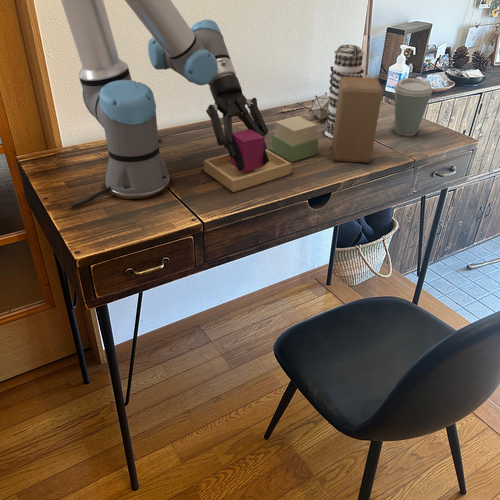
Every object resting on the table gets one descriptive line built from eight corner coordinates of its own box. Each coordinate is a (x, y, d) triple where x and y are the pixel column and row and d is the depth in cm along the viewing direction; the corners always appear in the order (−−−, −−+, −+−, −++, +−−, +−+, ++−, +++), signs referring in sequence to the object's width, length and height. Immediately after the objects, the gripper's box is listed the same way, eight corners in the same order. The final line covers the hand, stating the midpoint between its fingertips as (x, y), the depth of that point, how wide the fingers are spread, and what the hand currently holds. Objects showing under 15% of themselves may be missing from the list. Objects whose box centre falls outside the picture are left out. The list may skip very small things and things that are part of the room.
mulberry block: (242, 172, 120) (243, 141, 115) (230, 163, 124) (230, 133, 119) (262, 167, 123) (264, 137, 118) (249, 158, 127) (250, 128, 122)
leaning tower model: (347, 142, 142) (359, 52, 127) (318, 135, 146) (327, 47, 131) (358, 132, 148) (372, 45, 134) (331, 126, 152) (341, 41, 138)
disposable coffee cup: (429, 137, 146) (441, 87, 137) (396, 140, 144) (407, 89, 135) (411, 124, 154) (421, 76, 145) (380, 127, 152) (389, 78, 143)
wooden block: (366, 149, 138) (378, 77, 127) (370, 164, 130) (383, 89, 118) (331, 147, 139) (340, 75, 127) (332, 162, 131) (342, 87, 119)
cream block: (293, 145, 128) (294, 130, 126) (274, 135, 133) (275, 121, 131) (315, 139, 132) (317, 124, 130) (297, 129, 137) (298, 115, 135)
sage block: (291, 162, 130) (292, 146, 128) (271, 150, 136) (272, 135, 134) (316, 154, 135) (318, 139, 132) (296, 143, 140) (297, 128, 138)
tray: (233, 192, 116) (233, 180, 114) (204, 170, 125) (203, 160, 123) (290, 174, 124) (291, 163, 123) (259, 155, 133) (259, 145, 132)
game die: (319, 128, 160) (325, 98, 161) (339, 126, 154) (345, 95, 154) (301, 119, 155) (307, 88, 155) (321, 116, 148) (327, 84, 148)
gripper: (192, 78, 115) (224, 168, 113) (261, 69, 123) (292, 152, 121) (184, 94, 122) (214, 179, 120) (250, 84, 130) (279, 164, 128)
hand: (253, 166), depth 120 cm, fingers closed on mulberry block, 6 cm apart
